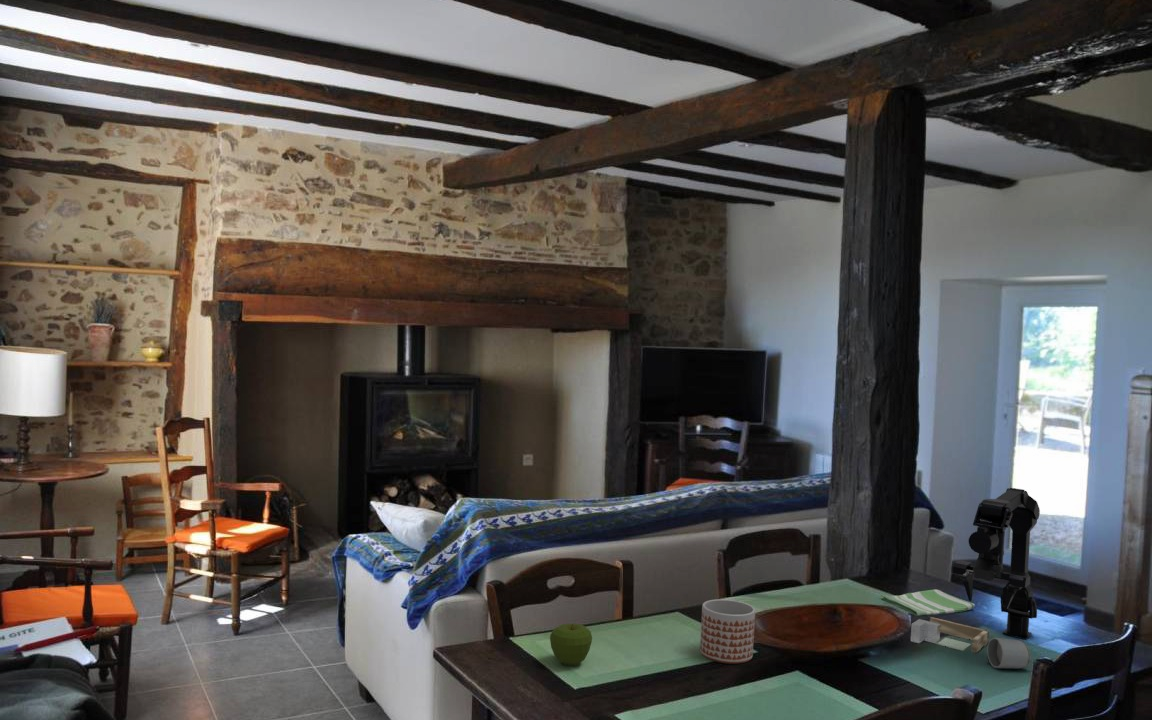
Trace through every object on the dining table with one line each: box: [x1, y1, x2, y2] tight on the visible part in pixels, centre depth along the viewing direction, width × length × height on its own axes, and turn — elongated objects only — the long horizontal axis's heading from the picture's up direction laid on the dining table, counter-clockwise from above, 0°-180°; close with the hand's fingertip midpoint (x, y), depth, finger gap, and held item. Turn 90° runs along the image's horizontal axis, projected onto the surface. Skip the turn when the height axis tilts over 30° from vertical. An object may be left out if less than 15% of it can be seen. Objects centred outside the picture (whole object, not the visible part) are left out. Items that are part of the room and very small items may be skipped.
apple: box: [549, 623, 593, 667], centre depth 227 cm, size 11×10×10 cm
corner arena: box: [929, 616, 990, 654], centre depth 259 cm, size 11×16×4 cm
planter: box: [699, 598, 756, 665], centre depth 238 cm, size 14×14×13 cm
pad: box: [936, 637, 972, 652], centre depth 255 cm, size 7×7×1 cm
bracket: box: [910, 618, 941, 645], centre depth 256 cm, size 6×6×5 cm
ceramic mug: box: [986, 637, 1031, 670], centre depth 241 cm, size 11×8×8 cm
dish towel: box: [880, 588, 975, 617], centre depth 292 cm, size 18×23×3 cm
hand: (988, 604), depth 245 cm, fingers open, 9 cm apart
